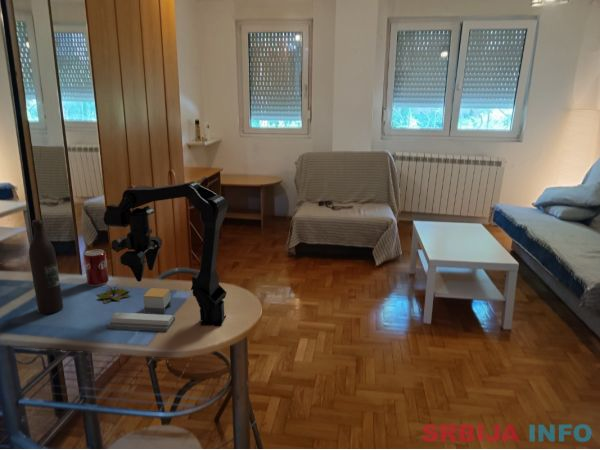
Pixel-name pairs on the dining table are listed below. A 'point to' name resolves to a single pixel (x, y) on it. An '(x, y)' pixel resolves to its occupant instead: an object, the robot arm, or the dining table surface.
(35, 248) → the wine bottle
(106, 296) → the lily flower
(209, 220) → the robot arm
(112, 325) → the rail
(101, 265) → the soda can
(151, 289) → the block
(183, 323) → the dining table surface
